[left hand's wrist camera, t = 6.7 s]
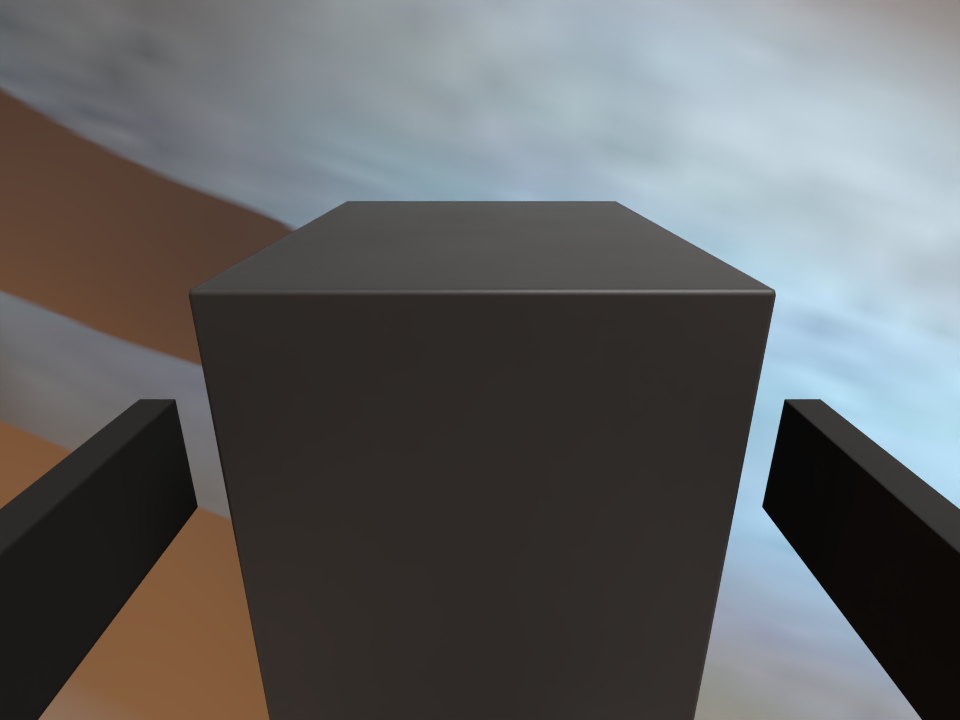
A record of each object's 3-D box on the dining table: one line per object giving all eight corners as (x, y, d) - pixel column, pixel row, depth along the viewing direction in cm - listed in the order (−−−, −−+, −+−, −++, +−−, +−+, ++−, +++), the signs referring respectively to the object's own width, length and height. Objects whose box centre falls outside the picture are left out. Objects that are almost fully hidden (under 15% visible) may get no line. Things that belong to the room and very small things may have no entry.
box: (345, 201, 19) (184, 289, 9) (617, 201, 19) (779, 289, 9) (392, 763, 29) (343, 1112, 18) (570, 763, 29) (619, 1113, 18)
